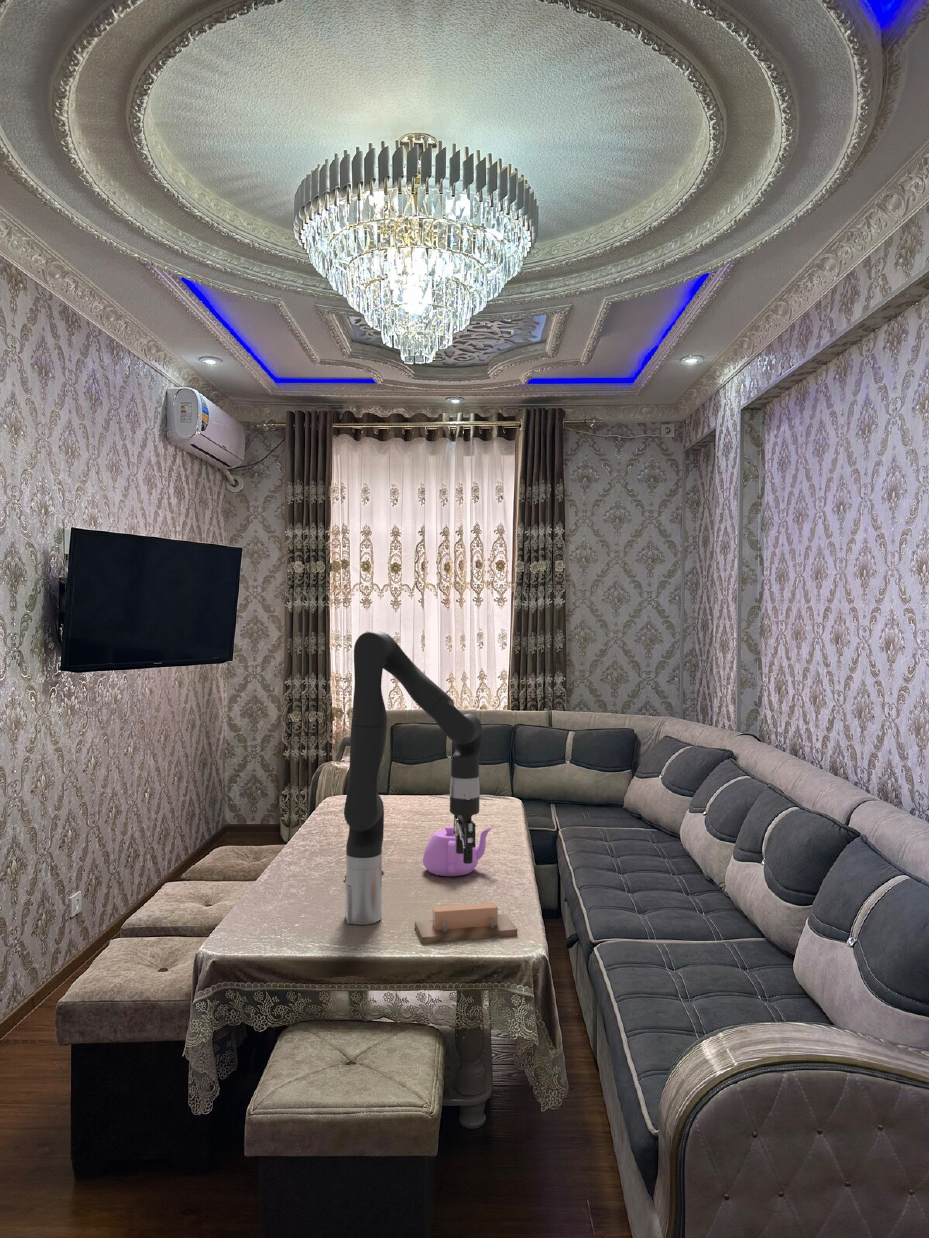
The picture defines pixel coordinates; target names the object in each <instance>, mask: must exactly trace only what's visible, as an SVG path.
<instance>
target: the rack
mask: <svg viewBox="0 0 929 1238" xmlns="http://www.w3.org/2000/svg"><path fill="white" fill-rule="evenodd" d="M415 927H416V929H415V930H417V931H416V933H417V932H418V933H417V934H419V935H418V937H419V939H420V941H422V942H421V943H422V944H432V943H445V942H446V943H447V942H455V941H467V940H468V941H469V940H478V939H479V940H481V939H489V938H490V939H491V938H499V937H500V938H501V937H502V938H503V937H511V936H515V937H516V936H518V928H517V927H516V925H515V924H514V923H513V921H511V919H510V918H509V916H508V915H507V914H506V913H500V914H498V925H494V917H490V926H481V927H468V928H454V929H447V921H443V922H442V929H441V930H435V929H434V927H433V919H428V920H427V919H426V920H414V928H415Z"/></svg>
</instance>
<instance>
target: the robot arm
mask: <svg viewBox="0 0 929 1238" xmlns="http://www.w3.org/2000/svg"><path fill="white" fill-rule="evenodd" d="M383 670H384V671H386V672H387V673H389V674H391V675H392V676H393V677H394V678H395V679H396V680H397V681H398V682H399V683H400V684H401V685H402V687H403V688H404V690H405V691H406V692H407V693H408V695H409V696H410V698H411V699H412V700H413V701H414V703H415V704H416V705H417V706H418V707H420V708H421V710H423V711H424V712H425V713H426V714H427V715H428V716H429V717H431V719H433V720H434V721H435V722H436V724H437V725H438V726H439V728H440V729H441V731H442V732H443V733H444V734H445V735H446V736H447V738H449V739H450V740H451V741H452V742H454V743H455V750H454V753H453V755H452V756H451V762H450V782H449V813H450V814H452V815H453V826H454V831H453V832H454V834H455V838H457V839H456V853H457V854H463V862H464V863H465V864H470V863H472V859H473V848H476V847H477V846H476V822H474V820H472V819H473V818H472V817H473V816H476V815H478V814H479V813H480V802H481V801H480V795H481V794H480V790H481V789H480V777H479V775H480V765H479V764H480V762H479V761H480V759H479V757H480V752H481V747H482V739H483V726H482V722H481V720H480V718H479V717H478V716H477V715H475V714H471V713H466V714H463V713H462V712H461V711H460V710H459V709H458V708H457V707H456V706H455V701H454V700H453V698H452V697H451V696H450V695H449V694H447V692H445V691H444V690H443V689H442V688H441V687H440V686H439V685H437V683H435V682H433V680H432V679H430V678H429V677H428V676H427V675H426V674H425V673H424V672H423V671H422V670H421V669H420V668H419V667H418V666H417V665H416V664H415V663H414V662H413V661H412V660H411V658H410V657H408V655H407V654H406V653H405V652H404V650H403V649H402V648H401V646H400V645H399V644H398V642H396V640H395V639H394V638H393V637H392V635H390V634H388V633H386V632H384V631H365V632H364V633H362V634H361V635H359V636H358V638H356V641H355V643H354V646H353V672H354V673H353V674H354V676H353V677H354V686H353V687H354V689H353V701H352V712H351V713H352V714H351V716H352V717H351V723H350V738H349V739H350V741H349V745H350V746H349V779H348V783H347V784H348V785H347V790H346V797H345V803H344V808H343V816H344V820H345V822H346V824H347V825H348V827H349V828H348V837H347V841H346V845H345V846H346V847H345V849H346V851H345V852H346V853H345V855H346V859H345V860H346V862H345V864H346V866H345V867H346V869H345V871H346V872H345V875H346V878H345V879H346V881H345V882H344V883H345V885H344V891H345V893H344V895H345V896H344V897H345V899H344V901H345V904H344V906H345V908H344V910H345V911H344V912H345V913H344V916H345V920H346V924H349V925H351V924H353V925H362V926H363V925H365V926H367V925H371V924H372V925H373V924H376V923H378V922H380V921H381V920H382V918H383V915H382V913H383V909H382V908H383V907H382V905H383V902H382V900H383V899H382V898H383V897H382V896H383V892H382V890H383V889H382V886H383V885H382V883H383V881H382V879H383V877H382V876H383V874H382V871H383V868H382V867H383V864H382V863H383V842H384V832H385V831H384V829H385V827H384V826H385V825H384V824H385V822H384V821H385V818H384V817H385V807H384V802H383V799H382V797H381V796H380V795H379V794H378V777H379V771H380V767H381V764H382V761H383V756H384V753H385V747H386V740H387V730H388V716H387V710H386V705H385V702H384V697H383V692H382V691H383V690H382V681H383ZM468 840H470V843H468ZM379 920H380V921H379ZM377 921H378V922H377Z"/></svg>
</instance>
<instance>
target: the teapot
mask: <svg viewBox="0 0 929 1238" xmlns="http://www.w3.org/2000/svg"><path fill="white" fill-rule="evenodd" d="M492 829H494V828H493V826H492V827H488V828H485V829H483V830H482V831H481V832H480V838H479V844H477V846H475V848H473V859H472V863H470V864H465V863H464V862H463V854H457V853H456V839H457V838H455V834H454V832H453V831H454V825H447V826H444V829H443V830H442V829H441V830H438V831H437V830H436V832H434V833H433V835H432V836H431V837H430V839H429V840H428V843H427V844H426V846H425V849H424V852H423V857H422V863H423V866H424V867H425V869H426V871H428V872H429V873H431V874H432V875H436V876H439V875H440V876H441V877H459V876H465V875H468V874H470V873H472V872H473V871H474V869H475V868H476V867H477V865H478V864H479V863H478V862H479V860H480V859H482V857H483V856H484V855H485V853H486V844H487V843H486V842H487V836H488V833H489V832H490V831H492ZM468 843H470V840H468Z"/></svg>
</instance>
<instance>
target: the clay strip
mask: <svg viewBox="0 0 929 1238" xmlns="http://www.w3.org/2000/svg"><path fill="white" fill-rule="evenodd" d="M498 908H499V907H498V906H497V904H496V903H495V902H486V903H484V902H483V903H474V904H472V903H471V904H458V905H444V906H443V905H442V906H432V920H433V927H434V929H435V930H441V929H442V922H443V921H447V929H454V928H468V927H481V926H490V917H494V925H498V910H499V909H498Z"/></svg>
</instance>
